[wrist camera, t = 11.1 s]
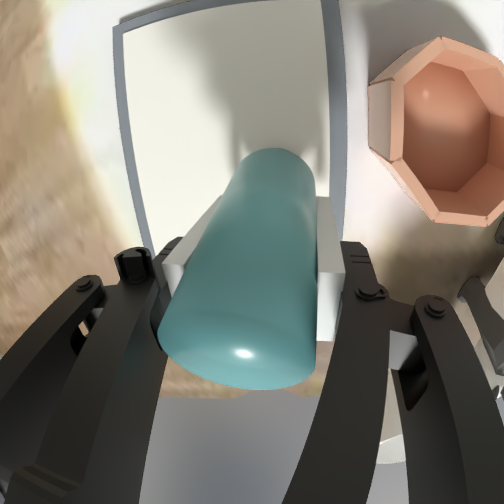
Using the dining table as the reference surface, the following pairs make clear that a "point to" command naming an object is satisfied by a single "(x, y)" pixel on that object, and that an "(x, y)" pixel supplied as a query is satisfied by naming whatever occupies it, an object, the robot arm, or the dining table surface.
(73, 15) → the dining table surface
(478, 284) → the giant panda
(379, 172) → the dining table surface
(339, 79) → the clipboard
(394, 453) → the white cup
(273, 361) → the teal cylinder
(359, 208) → the dining table surface
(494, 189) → the terracotta octagonal bowl
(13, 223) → the dining table surface
